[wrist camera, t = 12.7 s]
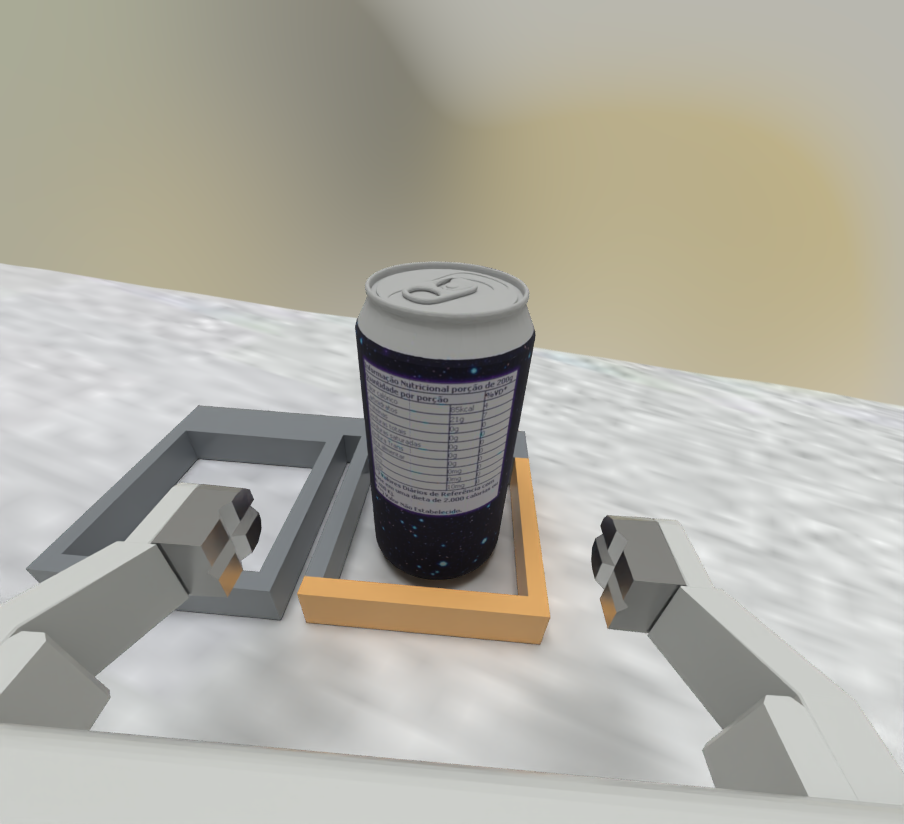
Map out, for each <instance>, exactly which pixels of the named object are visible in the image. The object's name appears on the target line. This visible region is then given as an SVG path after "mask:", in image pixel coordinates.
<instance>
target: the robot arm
mask: <svg viewBox="0 0 904 824" xmlns="http://www.w3.org/2000/svg"><path fill="white" fill-rule="evenodd" d="M253 500H254V498H253V496H252V494H251V491H250V489H245V488H235V487H226V486H216V485H206V484H193V483H183V482H181V483H179V484H177V485H175V486H173V487H172V488H171V489H170V491H169V492H168V493H167V494H166V495H165V496H164V497H163V498H162V500H161V501H160V502H159V503H158V504H157V505H156V506H155V507H154V509H153V510H152V511H151V512H150V513H149V514H148V515H147V516H146V518H145V519H144V520H143V521H142V522H141V523H140V524H139V525H138V527H137V528H136V529H135V530H134V531H133V532H132V533H131V534H130V536H129V537H128V538H127V539H126V540H125V541H116V542H115V543H113V544H111V545H109V546H107V547H105V548H104V549H102V550H100V551H98V552H96V553H94V554H93V555H91V556H89V557H87V558H85V559H83V560H82V561H80V562H78V563H76V564H74V565H72V566H71V567H69V568H67V569H65V570H63V571H61V572H60V573H58V574H56V575H54V576H52V577H50V578H49V579H47V580H45V581H43V582H41V583H39V584H38V585H36V586H34V587H32V588H30V589H28V590H26V591H25V592H23V593H21V594H19V595H17V596H15V597H14V598H12V599H10V600H8V601H6V602H4V603H3V604H1V605H0V824H904V772H903V771H902V769H901V768H900V766H899V765H898V763H897V762H896V760H895V759H894V757H893V756H892V754H891V753H890V751H889V750H888V748H887V747H886V745H885V744H884V742H883V741H882V739H881V738H880V736H879V735H878V733H877V732H876V730H875V729H874V727H873V726H872V724H871V723H870V721H869V720H868V718H867V717H866V715H865V714H864V712H863V711H862V709H861V708H860V706H859V705H858V703H857V702H856V700H855V699H853V698H852V697H851V696H850V695H849V694H847V693H846V692H845V691H844V690H843V689H841V688H840V687H839V686H838V685H837V684H835V683H834V682H833V681H832V680H831V679H829V678H828V677H827V676H826V675H825V674H823V673H822V672H821V671H820V670H819V669H817V668H816V667H815V666H814V665H813V664H811V663H810V662H809V661H808V660H807V659H805V658H804V657H803V656H802V655H801V654H799V653H798V652H797V651H796V650H795V649H793V648H792V647H791V646H790V645H789V644H787V643H786V642H785V641H784V640H783V639H781V638H780V637H779V636H778V635H777V634H775V633H774V632H773V631H772V630H771V629H769V628H768V627H767V626H766V625H765V624H763V623H762V622H761V621H760V620H759V619H757V618H756V617H755V616H754V615H753V614H751V613H750V612H749V611H748V610H747V609H745V608H744V607H743V606H742V605H741V604H740V603H738V602H737V601H736V600H735V599H734V598H732V597H731V596H730V595H729V594H728V593H726V592H725V591H724V590H723V589H715V587H714V585H713V584H712V582H711V580H710V578H709V576H708V574H707V572H706V570H705V568H704V567H703V565H702V563H701V561H700V559H699V557H698V555H697V553H696V551H695V549H694V548H693V546H692V544H691V542H690V540H689V538H688V536H687V534H686V532H685V530H684V529H683V527H682V525H681V524H680V523H679V522H678V521H677V520H668V519H654V518H653V519H651V518H644V517H628V516H612V515H607V516H606V517H605V518H604V519H603V521H602V523H601V529H602V533H603V534H602V535H600V536H599V537H597V538H595V541H594V544H593V547H592V557H591V561H592V570H593V574H594V578H595V580H596V581H597V583H598V584H599V585H600V586H601V587H602V588H603V589H604V591H603V593H602V595H601V597H600V601H601V605H602V609H603V613H604V616H605V620H606V624H607V628H608V629H613V630H622V631H631V632H640V633H649V634H648V637H649V638H650V639H651V640H652V642H653V643H654V644H655V645H656V647H657V648H658V649H659V650H660V652H661V653H662V654H663V655H664V657H665V658H666V659H667V660H668V662H669V663H670V664H671V665H672V667H673V668H674V669H675V670H676V672H677V673H678V674H679V676H680V677H681V678H682V679H683V681H684V682H685V683H686V684H687V686H688V687H689V688H690V689H691V691H692V692H693V693H694V694H695V696H696V697H697V698H698V699H699V701H700V702H701V703H702V704H703V706H704V707H705V708H706V709H707V711H708V712H709V713H710V714H711V716H712V717H713V718H714V719H715V721H716V722H717V723H718V724H719V726H720V727H721V728H722V729H723V730H722V731H721V732H720V733H718V734H717V735H716V736H715V737H713V738H712V739H711V740H710V741H708V742H707V743H706V745H705V747H704V748H703V750H702V751H703V754H704V757H705V760H706V763H707V765H708V768H709V771H710V774H711V777H712V780H713V783H714V785H715V788H710V787H699V786H688V785H678V784H667V783H656V782H645V781H634V780H623V779H612V778H601V777H590V776H579V775H568V774H557V773H547V772H536V771H525V770H514V769H503V768H492V767H481V766H470V765H459V764H448V763H437V762H426V761H416V760H405V759H394V758H383V757H372V756H361V755H350V754H339V753H328V752H317V751H306V750H296V749H285V748H274V747H263V746H252V745H241V744H230V743H219V742H208V741H197V740H187V739H176V738H165V737H154V736H143V735H132V734H121V733H110V732H99V731H89V730H90V729H91V727H92V726H93V724H94V723H95V721H96V719H97V718H98V716H99V715H100V713H101V712H102V710H103V709H104V707H105V706H106V704H107V702H108V701H109V699H110V690H109V689H108V688H106V687H105V686H104V685H103V684H102V683H101V682H100V681H99V680H97V679H96V678H95V676H96V675H97V674H98V673H100V672H101V671H102V670H103V669H104V668H106V667H107V666H108V665H109V664H110V663H112V662H113V661H114V660H115V659H116V658H118V657H119V656H120V655H121V654H122V653H124V652H125V651H126V650H127V649H128V648H130V647H131V646H132V645H133V644H134V643H136V642H137V641H138V640H139V639H140V638H142V637H143V636H144V635H145V634H146V633H148V632H149V631H150V630H151V629H152V628H154V627H155V626H156V625H157V624H158V623H160V622H161V621H162V620H163V619H164V618H166V617H167V616H168V615H169V614H170V613H172V612H173V611H174V610H175V609H176V608H178V607H179V606H180V605H181V604H182V603H184V602H185V601H186V600H187V599H188V598H189V596H188V595H191V596H209V597H228V596H229V594H230V592H231V591H232V589H233V587H234V585H235V583H236V582H237V580H238V578H239V576H240V574H241V573H242V571H243V568H242V563H241V560H243V559H244V558H246V557H247V556H248V555H250V554H251V553H253V551H254V549H255V547H256V545H257V543H258V541H259V537H260V533H261V518H260V515H259V512H257V511H256V510H255V509H254V508H252V507H251V506H250V505H251V503H252V502H253Z"/></svg>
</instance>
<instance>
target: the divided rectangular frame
mask: <svg viewBox="0 0 904 824" xmlns="http://www.w3.org/2000/svg"><path fill="white" fill-rule="evenodd" d="M197 459H210V460H222V461H234V462H246V463H258V464H270V465H282V466H294V467H306V468H313V469H312V471H311V473H310V474H309V476H308V478H307V480H306V482H305V484H304V486H303V488H302V490H301V492H300V494H299V496H298V498H297V500H296V502H295V504H294V506H293V507H292V509H291V511H290V513H289V515H288V517H287V519H286V521H285V523H284V525H283V527H282V529H281V531H280V533H279V535H278V537H277V539H276V541H275V542H274V544H273V546H272V548H271V550H270V552H269V554H268V556H267V558H266V560H265V562H264V564H263V566H262V568H261V570H260V572H255V571H244V570H243V571H242V573H241V574H240V576H239V578H238V580H237V582H236V583H235V585H234V587H233V589H232V591H231V592H230V594H229V596H228V597H209V596H191V595H188V596H189V598H188V599H187V600H186V601H185V602H184V603H182V604H181V605H180V606H179V607H178V608H176V609H175V610H180V611H191V612H201V613H212V614H223V615H233V616H244V617H255V618H265V619H276V620H281V618H282V616H283V613H284V611H285V609H286V606H287V604H288V602H289V599H290V597H291V594H292V592H293V590H294V587H295V585H296V582H297V580H298V578H299V575H300V573H301V571H302V568H303V566H304V563H305V561H306V559H307V556H308V554H309V552H310V549H311V547H312V544H313V542H314V540H315V537H316V535H317V532H318V530H319V528H320V525H321V523H322V521H323V518H324V516H325V513H326V511H327V509H328V506H329V504H330V501H331V499H332V497H333V494H334V492H335V490H336V487H337V485H338V482H339V480H340V478H341V475H342V473H343V471H344V468H345V466H346V463H347V462H351V463H350V465H349V468H348V470H347V473H346V475H345V478H344V480H343V483H342V485H341V488H340V490H339V492H338V495H337V497H336V500H335V502H334V505H333V507H332V510H331V512H330V514H329V517H328V519H327V522H326V524H325V527H324V529H323V532H322V534H321V537H320V539H319V541H318V544H317V546H316V549H315V551H314V554H313V556H312V559H311V561H310V563H309V566H308V568H307V571H306V573H305V576H304V578H303V581H302V583H301V586H300V588H299V590H298V593H297V595H298V598H299V601H300V604H301V608H302V611H303V614H304V617H305V620H306V622H308V623H319V624H329V625H340V626H351V627H361V628H372V629H382V630H393V631H404V632H414V633H425V634H436V635H446V636H457V637H468V638H478V639H489V640H500V641H510V642H521V643H531V644H540V643H541V641H542V638H543V635H544V633H545V630H546V627H547V625H548V622H549V619H550V612H549V604H548V597H547V590H546V582H545V575H544V568H543V561H542V553H541V546H540V539H539V531H538V524H537V517H536V510H535V502H534V495H533V488H532V480H531V473H530V466H529V458H528V451H527V444H526V437H525V431H518V433H517V438H516V444H515V449H514V454H513V460H512V465H511V471H510V476H509V481H508V484H510V492H511V505H512V519H513V532H514V546H515V559H516V573H517V586H518V595H508V594H497V593H486V592H475V591H464V590H453V589H442V588H431V587H420V586H409V585H398V584H387V583H376V582H365V581H354V580H343V579H339V577H340V574H341V571H342V568H343V565H344V562H345V559H346V556H347V553H348V550H349V547H350V544H351V541H352V538H353V535H354V532H355V528H356V525H357V522H358V519H359V516H360V513H361V510H362V507H363V504H364V501H365V498H366V495H367V492H368V489H369V486H370V483H371V482H370V471H369V461H368V451H367V441H366V431H365V421H364V419H362V418H350V417H337V416H325V415H312V414H300V413H287V412H275V411H262V410H250V409H237V408H225V407H212V406H200V405H198V406H197V407H196V408H195V409H194V410H193V411H192V412H191V413H190V414H189V415H188V416H187V417H186V418H185V419H184V420H183V421H181V422H180V423H179V424H178V425H177V426H176V427H175V428H174V429H173V430H172V431H171V432H170V433H169V434H168V435H167V436H166V437H165V438H164V439H162V440H161V441H160V442H159V443H158V444H157V445H156V446H155V447H154V448H153V449H152V450H151V451H150V452H149V453H148V454H147V455H146V456H144V457H143V458H142V459H141V460H140V461H139V462H138V463H137V464H136V465H135V466H134V467H133V468H132V469H131V470H130V471H129V472H128V473H126V474H125V475H124V476H123V477H122V478H121V479H120V480H119V481H118V482H117V483H116V484H115V485H114V486H113V487H112V488H111V489H110V490H109V491H107V492H106V493H105V494H104V495H103V496H102V497H101V498H100V499H99V500H98V501H97V502H96V503H95V504H94V505H93V506H92V507H91V508H89V509H88V510H87V511H86V512H85V513H84V514H83V515H82V516H81V517H80V518H79V519H78V520H77V521H76V522H75V523H74V524H73V525H71V526H70V527H69V528H68V529H67V530H66V531H65V532H64V533H63V534H62V535H61V536H60V537H59V538H58V539H57V540H56V541H55V542H54V543H52V544H51V545H50V546H49V547H48V548H47V549H46V550H45V551H44V552H43V553H42V554H41V555H40V556H39V557H38V558H37V559H36V560H34V561H33V562H32V563H31V564H30V565H29V566H28V567H27V568H26V570H27V571H28V572H29V573H30V574H31V575H32V576H33V577H34V578H35V579H36V580H37V581H38V582H39V583H41V582H43V581H45V580H47V579H49V578H50V577H52V576H54V575H56V574H58V573H60V572H61V571H63V570H65V569H67V568H69V567H71V566H72V565H74V564H76V563H78V562H80V561H82V560H83V559H85V558H87V557H89V556H91V555H93V554H94V553H96V552H98V551H100V550H102V549H104V548H105V547H107V546H109V545H111V544H113V543H115V542H116V541H125V540H126V539H127V538H128V537H129V536H130V534H131V533H132V532H133V531H134V530H135V529H136V528H137V527H138V525H139V524H140V523H141V522H142V521H143V520H144V519H145V518H146V516H147V515H148V514H149V513H150V512H151V511H152V510H153V509H154V507H155V506H156V505H157V504H158V503H159V502H160V501H161V500H162V498H163V497H164V496H165V495H166V494H167V493H168V492H169V491H170V489H171V488H172V487H173V486H174V485H175V484H176V483H177V482H178V480H179V479H180V478H181V477H182V476H183V475H184V474H185V472H186V471H187V470H188V469H189V468H190V467H191V466H192V465H193V463H194V462H195V461H196V460H197Z"/></svg>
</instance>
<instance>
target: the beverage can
mask: <svg viewBox="0 0 904 824" xmlns="http://www.w3.org/2000/svg"><path fill="white" fill-rule="evenodd" d="M365 290H366V294H367V298H366V300H365V303H364V305H363V307H362V310H361V312H360V314H359V316H358V319H357V322H356V325H355V330H356V340H357V350H358V360H359V370H360V380H361V390H362V401H363V411H364V421H365V431H366V441H367V451H368V461H369V471H370V482H371V492H372V502H373V512H374V522H375V532H376V538H377V542H378V545H379V547H380V549H381V551H382V552H383V554H384V555H385V557H386V558H387V559H388V560H389V561H390V562H391V563H392V564H393V565H395V566H396V567H397V568H399V569H400V570H402V571H404V572H406V573H408V574H410V575H413V576H416V577H420V578H425V579H433V580H442V579H451V578H456V577H459V576H462V575H465V574H467V573H469V572H471V571H473V570H475V569H476V568H478V567H479V566H480V565H482V564H483V563H484V562H485V561H486V560H487V559H488V558H489V556H490V555H491V554H492V552H493V550H494V548H495V546H496V543H497V540H498V535H499V530H500V525H501V519H502V514H503V508H504V503H505V498H506V492H507V487H508V481H509V476H510V471H511V465H512V460H513V454H514V449H515V444H516V438H517V433H518V427H519V422H520V417H521V411H522V406H523V400H524V395H525V390H526V384H527V379H528V374H529V368H530V363H531V357H532V352H533V347H534V341H535V330H534V326H533V323H532V320H531V317H530V314H529V311H528V308H527V305H526V303H527V302H528V299H529V290H528V288H527V286H526V285H525V284H524V283H523V282H522V281H521V280H520V279H518V278H516V277H514V276H513V275H510V274H508V273H505V272H503V271H500V270H496V269H492V268H488V267H484V266H479V265H473V264H465V263H455V262H417V263H409V264H401V265H396V266H392V267H388V268H385V269H382V270H380V271H377V272H376V273H374V274H372V275H371V276H370V277H369V278H368V280H367V281H366V284H365Z"/></svg>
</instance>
